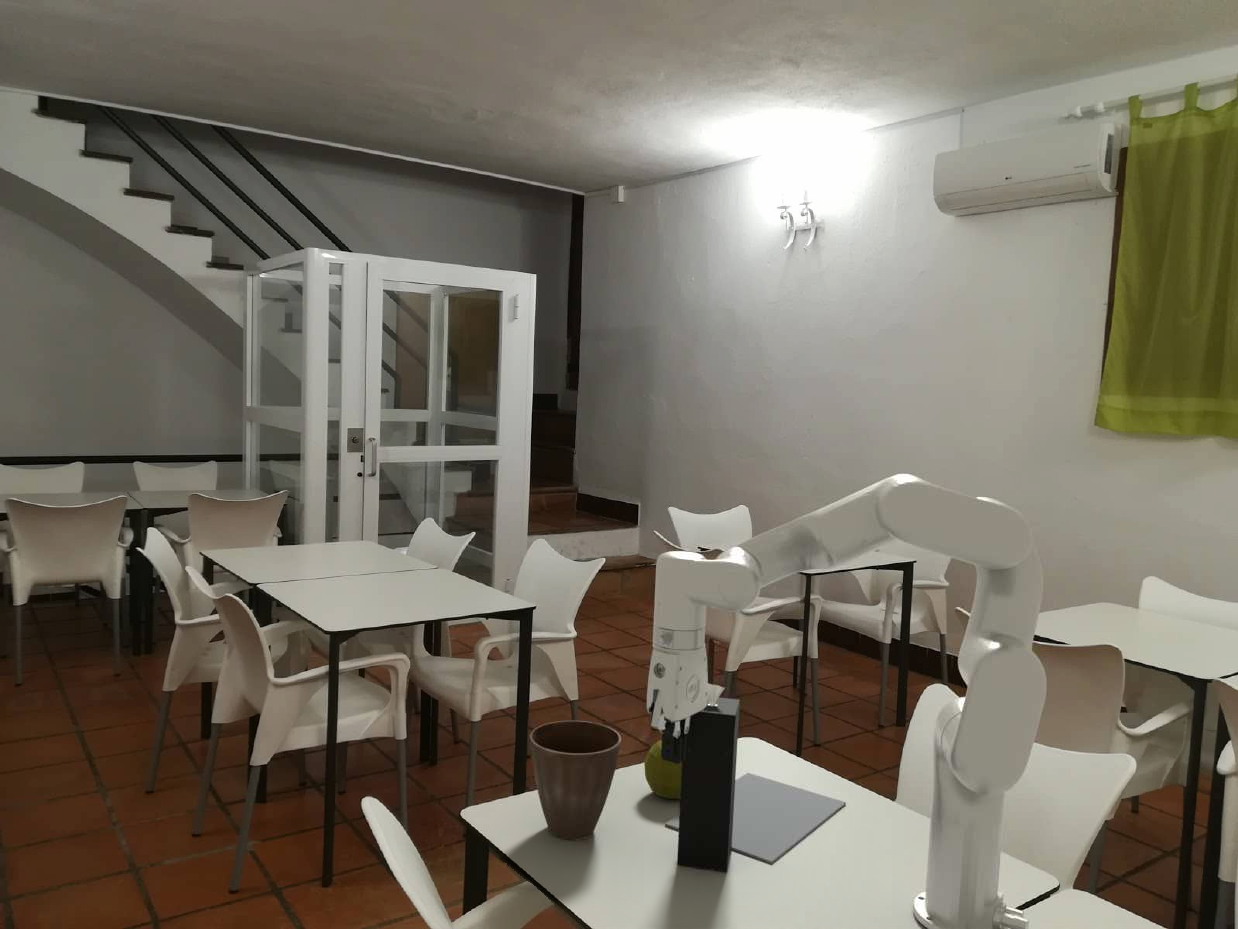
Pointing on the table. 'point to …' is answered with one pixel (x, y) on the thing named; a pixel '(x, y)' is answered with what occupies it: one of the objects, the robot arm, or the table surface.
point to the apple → (662, 774)
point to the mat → (773, 816)
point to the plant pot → (573, 774)
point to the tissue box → (709, 784)
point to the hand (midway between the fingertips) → (673, 759)
